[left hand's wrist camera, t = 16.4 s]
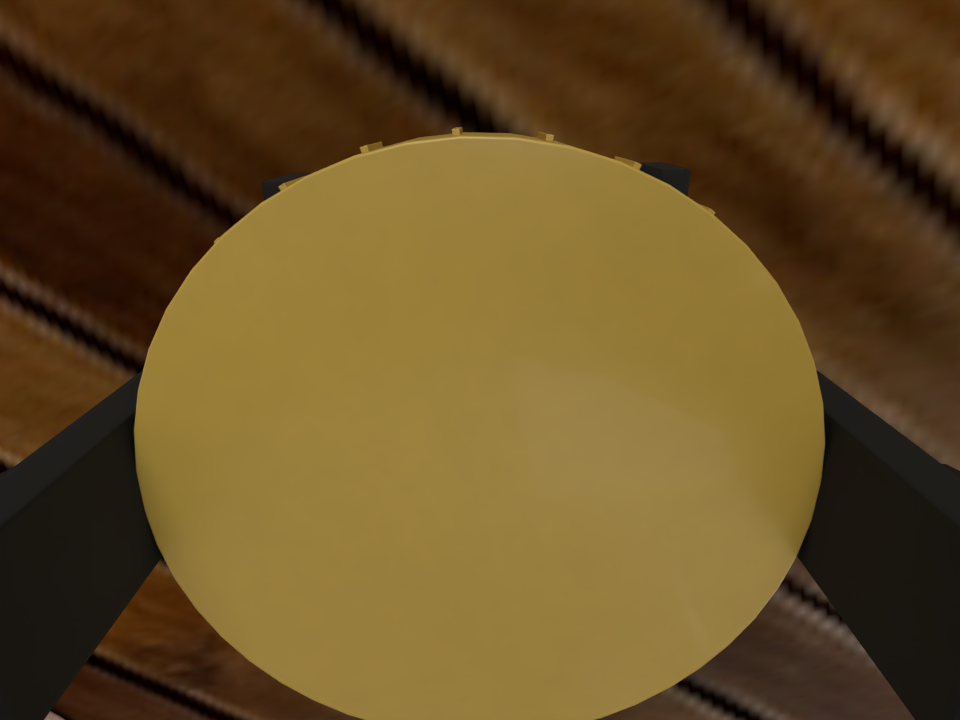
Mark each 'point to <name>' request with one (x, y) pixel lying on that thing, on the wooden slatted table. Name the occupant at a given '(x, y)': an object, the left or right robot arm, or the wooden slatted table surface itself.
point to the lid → (479, 433)
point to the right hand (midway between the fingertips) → (475, 171)
